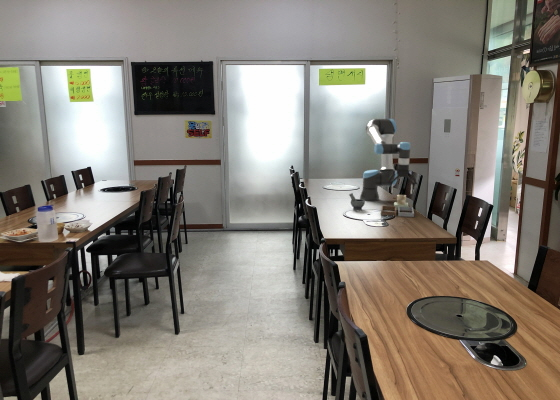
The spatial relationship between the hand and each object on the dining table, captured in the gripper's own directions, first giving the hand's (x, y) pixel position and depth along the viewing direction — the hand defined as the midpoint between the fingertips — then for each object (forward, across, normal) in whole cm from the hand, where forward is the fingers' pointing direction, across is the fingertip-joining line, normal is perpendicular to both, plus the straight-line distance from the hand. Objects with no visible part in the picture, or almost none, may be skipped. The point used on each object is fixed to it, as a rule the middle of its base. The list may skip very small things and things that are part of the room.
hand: (401, 193), depth 328 cm
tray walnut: (+11, -8, -17) cm, 22 cm away
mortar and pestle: (+11, -31, -14) cm, 36 cm away
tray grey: (+11, +3, -17) cm, 20 cm away
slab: (+11, 0, -1) cm, 11 cm away
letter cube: (+8, 0, -1) cm, 8 cm away
